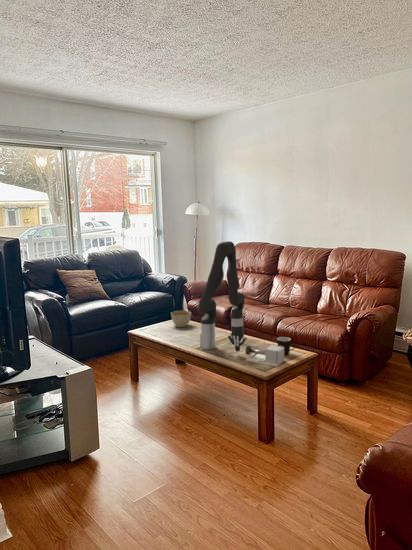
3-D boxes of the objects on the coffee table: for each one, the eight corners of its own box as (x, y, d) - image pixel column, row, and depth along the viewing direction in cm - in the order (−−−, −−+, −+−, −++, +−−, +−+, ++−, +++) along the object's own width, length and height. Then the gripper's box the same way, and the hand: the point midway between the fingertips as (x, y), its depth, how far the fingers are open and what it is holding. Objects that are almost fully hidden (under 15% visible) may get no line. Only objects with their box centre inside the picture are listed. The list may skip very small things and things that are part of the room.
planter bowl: (191, 328, 322) (191, 314, 320) (171, 329, 321) (170, 315, 319) (191, 322, 337) (191, 310, 336) (171, 323, 337) (171, 310, 335)
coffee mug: (274, 353, 262) (274, 338, 260) (285, 351, 265) (285, 336, 264) (284, 359, 251) (284, 343, 250) (296, 356, 255) (296, 341, 253)
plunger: (243, 357, 250) (243, 348, 250) (249, 353, 258) (249, 344, 257) (265, 361, 243) (265, 352, 242) (270, 356, 250) (270, 348, 249)
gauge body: (246, 360, 250) (245, 346, 248) (254, 354, 260) (254, 341, 258) (277, 366, 239) (277, 352, 237) (285, 360, 249) (285, 346, 247)
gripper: (225, 324, 256) (225, 351, 259) (243, 327, 249) (244, 354, 252) (230, 322, 263) (231, 348, 265) (249, 324, 256) (249, 351, 258)
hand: (237, 351), depth 259 cm, fingers closed
